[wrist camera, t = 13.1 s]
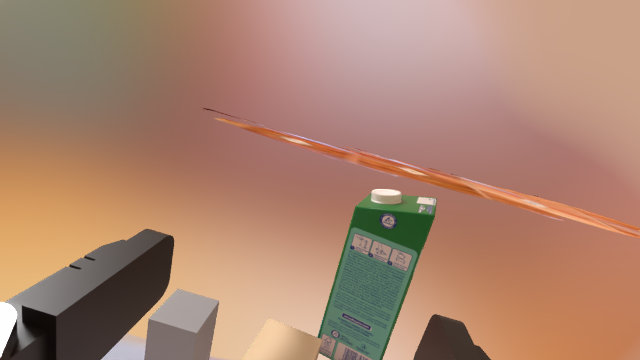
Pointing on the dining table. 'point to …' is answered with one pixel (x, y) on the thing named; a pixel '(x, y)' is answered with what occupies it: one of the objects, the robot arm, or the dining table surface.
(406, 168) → the dining table surface
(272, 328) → the maple block
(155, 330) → the slate block
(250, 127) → the dining table surface
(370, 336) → the milk carton
